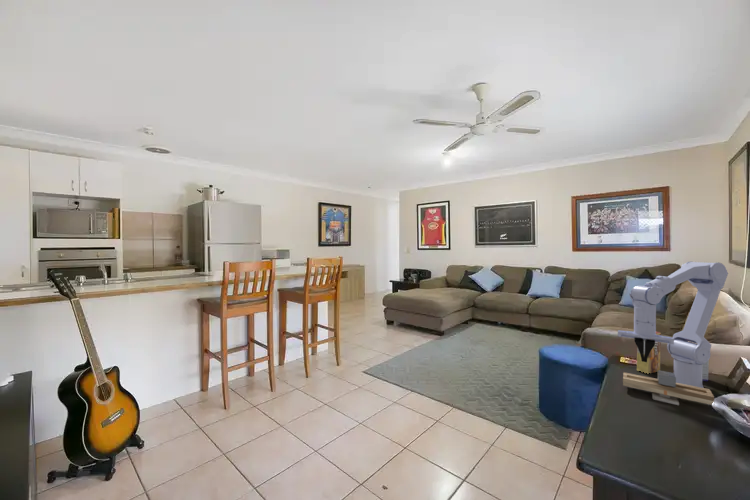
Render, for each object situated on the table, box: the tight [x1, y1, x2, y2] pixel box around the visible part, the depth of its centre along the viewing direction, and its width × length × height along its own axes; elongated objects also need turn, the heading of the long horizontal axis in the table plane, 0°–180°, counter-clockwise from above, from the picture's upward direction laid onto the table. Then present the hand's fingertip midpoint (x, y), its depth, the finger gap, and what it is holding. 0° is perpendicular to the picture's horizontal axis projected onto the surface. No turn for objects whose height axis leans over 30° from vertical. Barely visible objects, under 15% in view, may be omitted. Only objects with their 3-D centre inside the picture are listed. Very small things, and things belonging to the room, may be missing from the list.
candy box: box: [636, 331, 662, 375], centre depth 125 cm, size 9×4×15 cm, turn 116°
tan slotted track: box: [622, 371, 715, 406], centre depth 102 cm, size 9×21×4 cm, turn 51°
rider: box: [656, 369, 676, 387], centre depth 102 cm, size 5×4×4 cm
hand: (644, 361), depth 109 cm, fingers closed
